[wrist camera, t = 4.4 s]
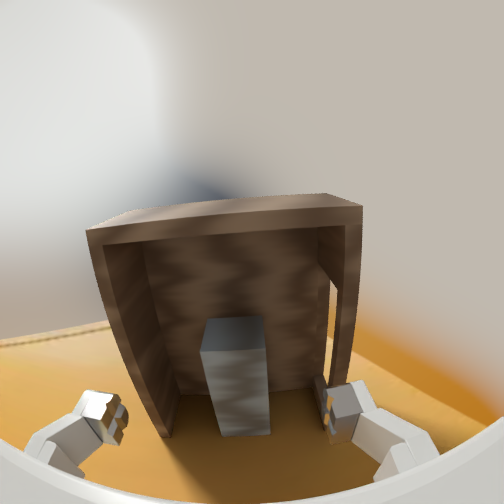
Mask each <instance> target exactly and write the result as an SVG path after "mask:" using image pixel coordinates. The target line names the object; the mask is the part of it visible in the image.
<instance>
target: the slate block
mask: <svg viewBox="0 0 504 504" xmlns="http://www.w3.org/2000/svg"><path fill="white" fill-rule="evenodd" d="M200 355H201V359H202V363H203V367H204V372H205V376H206V380H207V384H208V388H209V392H210V395H211V399H212V403H213V407H214V410H215V414H216V418H217V421H218V425H219V428H220V431H221V435H222V437H228V436H256V435H270V434H271V433H270V414H269V396H268V379H267V362H266V347H265V337H264V328H263V319H262V315H259V316H246V317H230V318H211V319H207V323H206V327H205V331H204V336H203V340H202V344H201V349H200Z"/></svg>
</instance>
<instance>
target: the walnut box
mask: <svg viewBox="0 0 504 504" xmlns="http://www.w3.org/2000/svg"><path fill="white" fill-rule="evenodd" d="M362 216H363V206H362V205H359V204H356V203H354V202H350V201H348V200H345V199H342V198H339V197H336V196H333V195H330V194H327V193H322V194H298V195H281V196H265V197H250V198H238V199H226V200H215V201H205V202H195V203H186V204H177V205H169V206H161V207H153V208H146V209H138V210H131V211H128V212H126V213H123V214H121V215H118V216H116V217H114V218H111V219H109V220H107V221H104V222H102V223H100V224H98V225H95V226H93V227H91V228H89V229H87V230H86V236H87V241H88V246H89V250H90V255H91V259H92V263H93V268H94V271H95V276H96V280H97V283H98V287H99V290H100V294H101V298H102V301H103V304H104V308H105V311H106V314H107V317H108V320H109V323H110V326H111V329H112V332H113V335H114V337H115V340H116V343H117V345H118V348H119V351H120V353H121V356H122V358H123V361H124V363H125V366H126V368H127V370H128V373H129V375H130V377H131V380H132V382H133V384H134V386H135V389H136V391H137V393H138V395H139V397H140V399H141V401H142V403H143V405H144V407H145V409H146V411H147V413H148V415H149V417H150V419H151V421H152V423H153V425H154V426H155V428H156V430H157V432H158V434H159V435H160V437H169V438H171V434H172V430H173V425H174V421H175V417H176V413H177V409H178V405H179V400H180V396H181V394H187V395H210V392H209V388H208V384H207V380H206V376H205V372H204V367H203V363H202V359H201V355H200V349H201V344H202V340H203V336H204V331H205V327H206V323H207V319H211V318H230V317H246V316H259V315H262V319H263V328H264V337H265V347H266V362H267V379H268V392H276V391H286V390H295V389H303V388H310V387H312V388H313V392H314V395H315V399H316V403H317V406H318V410H319V414H320V417H321V421H322V425H323V428H324V431H327V425H326V424H324V421H323V417H322V408H321V407H322V401H323V400H324V397H323V390H324V388H326V387H327V384H326V381H325V378H324V375H323V371H324V362H325V352H326V341H327V327H328V313H329V295H330V280H331V281H332V283H333V284H334V285H335V287H336V288H337V290H338V292H337V306H336V320H335V331H334V341H333V351H332V359H331V367H330V375H329V382H328V387H331V386H336V385H341V384H345V383H346V379H347V374H348V368H349V362H350V356H351V350H352V343H353V337H354V330H355V322H356V313H357V304H358V294H359V282H360V269H361V253H362V251H361V250H362V223H363V221H362V220H363V219H362V218H363V217H362Z"/></svg>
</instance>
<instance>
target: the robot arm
mask: <svg viewBox="0 0 504 504" xmlns="http://www.w3.org/2000/svg"><path fill="white" fill-rule="evenodd" d="M323 397H324V400H323V401H322V407H321V408H322V417H323V421H324V424H326V425H327V431H326V432H327V436H328V439H329V443H330V445H332V444H337V443H342V442H347V441H351V440H352V442H353V443H354V444H355V445H357V446H358V447H359V448H360V449H362V450H363V451H364V452H365V453H367V454H368V455H369V456H371V457H372V458H373V459H374V460H376V461H377V462H378V463H380V464H381V465H380V467H379V469H378V470H377V472H376V473H375V475H374V476H373V479H374V483H371V484H368V485H364V486H361V487H357V488H354V489H350V490H346V491H342V492H338V493H333V494H329V495H324V496H319V497H313V498H307V499H301V500H293V501H285V502H275V503H262V504H504V416H503V417H501V418H500V419H499V420H497V421H496V422H494V423H493V424H491V425H490V426H489V427H487V428H486V429H484V430H483V431H481V432H480V433H478V434H477V435H475V436H473V437H472V438H470V439H469V440H467V441H465V442H464V443H462V444H460V445H458V446H457V447H455V448H453V449H451V450H449V451H448V452H446V453H444V454H442V455H440V454H439V452H438V450H437V449H436V447H435V445H434V443H433V441H432V440H431V438H430V436H429V434H428V432H427V431H425V430H423V429H421V428H419V427H417V426H415V425H413V424H411V423H409V422H407V421H405V420H403V419H401V418H399V417H397V416H395V415H393V414H392V413H390V412H388V411H386V410H384V409H382V408H378V409H377V407H376V405H375V403H374V401H373V399H372V397H371V395H370V393H369V391H368V389H367V387H366V385H365V383H364V381H363V380H359V381H355V382H350V383H345V384H341V385H336V386H331V387H326V388H324V390H323ZM120 402H121V399H120V397H119V396H118V395H117V394H112V393H106V392H101V391H94V390H89V389H87V390H86V391H85V392H84V393H83V395H82V396H81V398H80V400H79V402H78V403H77V405H76V407H75V408H74V410H73V412H72V413H71V414H70V413H68V414H67V415H65V416H63V417H61V418H60V419H58V420H56V421H55V422H53V423H51V424H49V425H48V426H46V427H44V428H42V429H41V430H39V431H37V432H35V433H34V434H33V435H32V437H31V439H30V440H29V442H28V444H27V446H26V447H25V449H24V451H23V452H22V451H20V450H19V449H17V448H15V447H13V446H12V445H10V444H8V443H7V442H5V441H3V440H2V439H0V504H205V503H192V502H182V501H174V500H167V499H160V498H154V497H149V496H144V495H139V494H134V493H130V492H126V491H122V490H118V489H114V488H110V487H107V486H104V485H100V484H97V483H94V482H91V481H88V480H85V479H84V477H85V474H84V472H83V471H82V470H81V469H80V468H79V467H78V465H79V464H81V463H82V462H83V461H84V460H85V459H86V458H88V457H89V456H90V455H91V454H92V453H93V452H94V451H96V450H97V449H98V448H99V447H100V446H101V445H102V444H103V443H106V444H112V445H117V446H120V443H121V440H122V438H123V435H124V434H123V432H122V430H123V429H124V428H126V427H127V424H128V418H129V415H128V412H127V409H126V408H125V407H124V406H123V405H122V404H121V403H120Z"/></svg>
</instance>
